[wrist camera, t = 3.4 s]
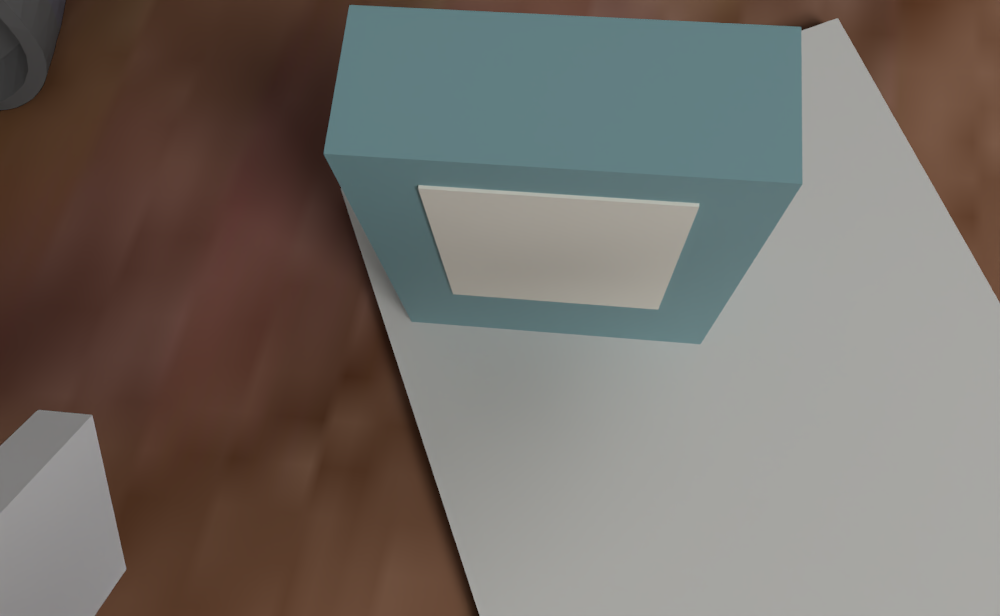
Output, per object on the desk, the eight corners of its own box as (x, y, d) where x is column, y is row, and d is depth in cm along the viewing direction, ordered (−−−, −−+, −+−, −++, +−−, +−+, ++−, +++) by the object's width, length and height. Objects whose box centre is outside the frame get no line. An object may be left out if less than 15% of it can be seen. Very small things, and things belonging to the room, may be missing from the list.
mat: (344, 197, 26) (340, 188, 26) (831, 29, 27) (837, 18, 27) (616, 1028, 20) (618, 1042, 19) (1249, 773, 20) (1269, 778, 20)
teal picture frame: (411, 324, 24) (322, 157, 15) (424, 223, 25) (349, 5, 16) (700, 346, 24) (802, 187, 14) (703, 242, 25) (800, 27, 15)
